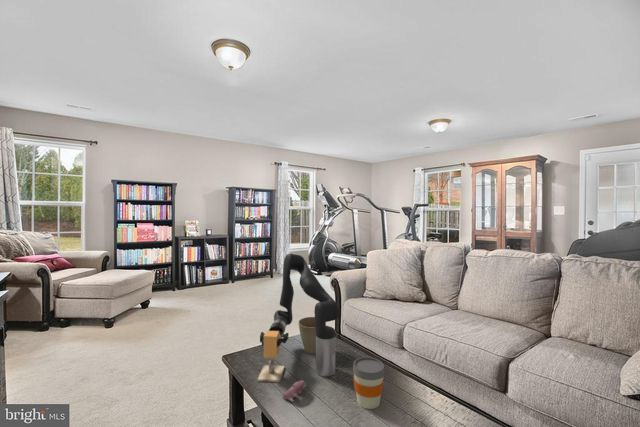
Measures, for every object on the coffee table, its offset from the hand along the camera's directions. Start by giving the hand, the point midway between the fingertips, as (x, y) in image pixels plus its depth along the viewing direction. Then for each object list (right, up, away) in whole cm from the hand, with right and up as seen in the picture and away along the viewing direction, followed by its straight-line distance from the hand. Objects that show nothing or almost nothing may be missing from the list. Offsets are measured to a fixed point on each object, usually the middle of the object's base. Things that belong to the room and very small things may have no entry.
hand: (270, 344), depth 138 cm
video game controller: (+12, -16, -13) cm, 24 cm away
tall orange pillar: (0, -6, +3) cm, 6 cm away
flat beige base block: (0, -15, +3) cm, 15 cm away
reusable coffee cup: (+42, -16, -17) cm, 48 cm away
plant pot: (+18, -15, +26) cm, 35 cm away
